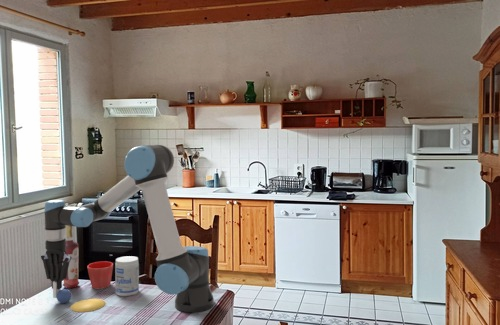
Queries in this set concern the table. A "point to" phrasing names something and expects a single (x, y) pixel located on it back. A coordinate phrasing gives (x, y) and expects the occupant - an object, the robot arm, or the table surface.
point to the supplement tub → (127, 275)
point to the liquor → (72, 251)
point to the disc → (88, 305)
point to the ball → (64, 296)
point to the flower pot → (100, 274)
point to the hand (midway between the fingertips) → (57, 296)
